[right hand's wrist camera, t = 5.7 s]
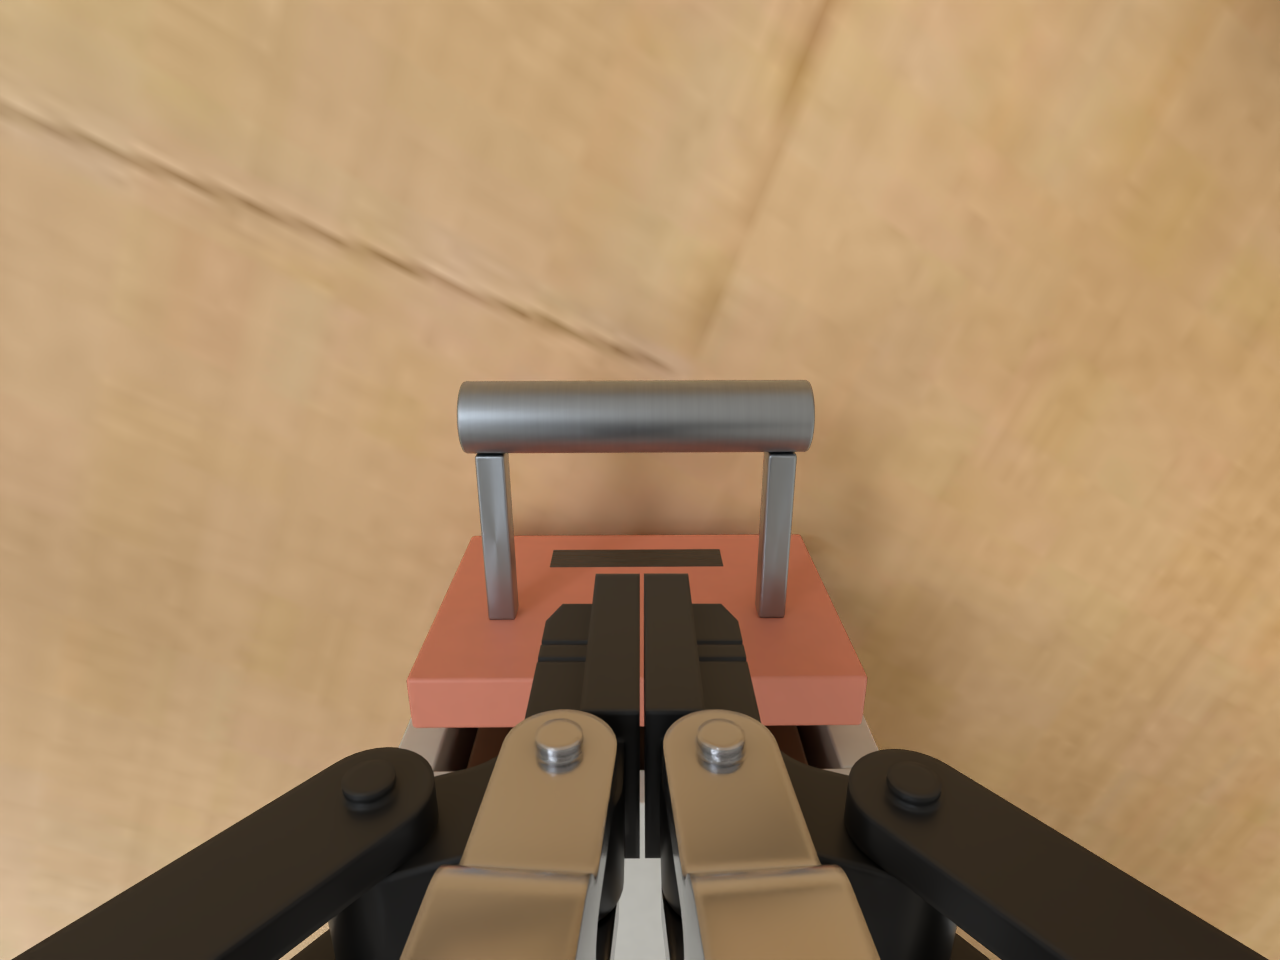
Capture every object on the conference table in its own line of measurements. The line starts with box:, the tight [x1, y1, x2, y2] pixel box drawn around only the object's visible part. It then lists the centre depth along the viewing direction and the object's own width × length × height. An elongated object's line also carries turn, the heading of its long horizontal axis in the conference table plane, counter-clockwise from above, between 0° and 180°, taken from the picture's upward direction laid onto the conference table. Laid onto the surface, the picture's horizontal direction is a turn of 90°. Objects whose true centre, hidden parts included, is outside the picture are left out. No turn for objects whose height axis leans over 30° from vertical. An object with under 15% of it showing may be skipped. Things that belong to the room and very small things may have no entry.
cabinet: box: [399, 715, 879, 960], centre depth 22 cm, size 16×10×9 cm, turn 0°
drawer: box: [407, 380, 867, 770], centre depth 20 cm, size 20×9×7 cm, turn 0°
